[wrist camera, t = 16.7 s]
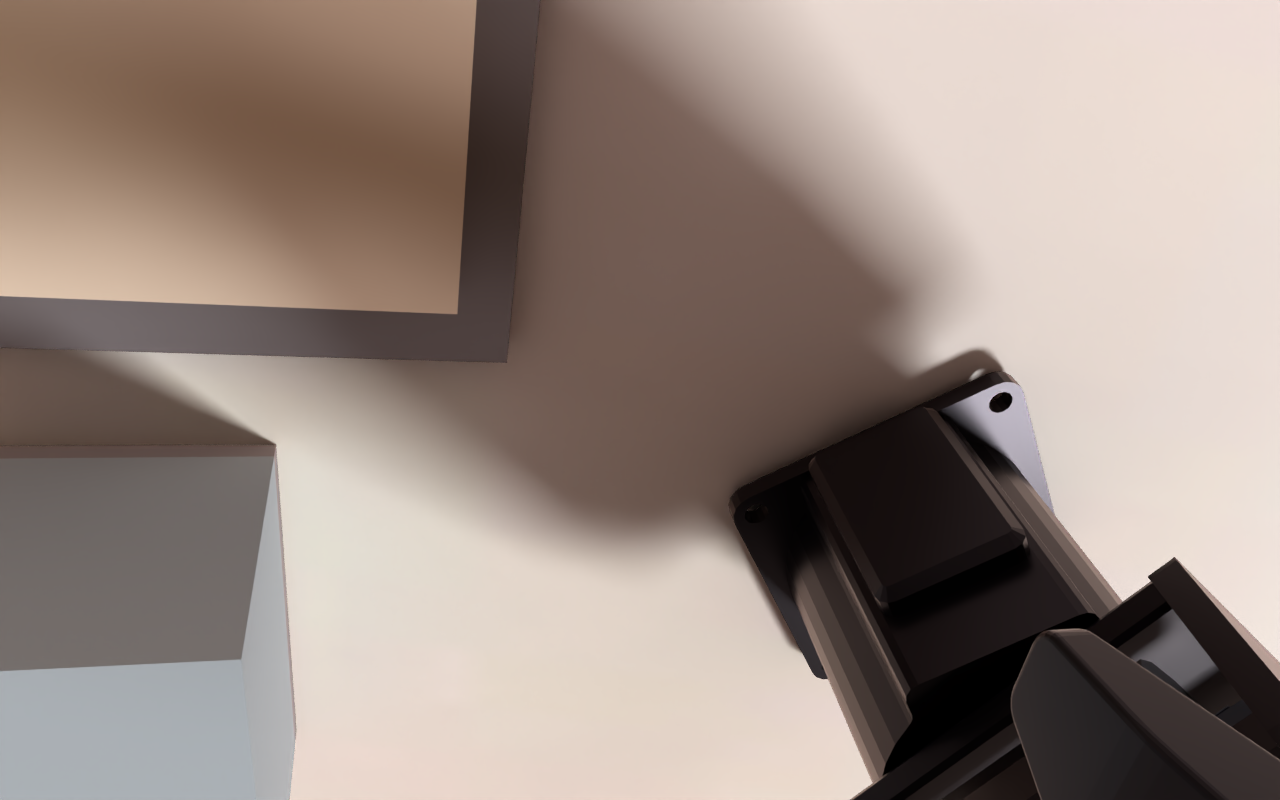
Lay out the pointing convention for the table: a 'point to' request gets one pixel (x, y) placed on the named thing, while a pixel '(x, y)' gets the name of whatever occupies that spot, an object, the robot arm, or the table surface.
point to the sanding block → (143, 624)
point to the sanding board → (263, 175)
